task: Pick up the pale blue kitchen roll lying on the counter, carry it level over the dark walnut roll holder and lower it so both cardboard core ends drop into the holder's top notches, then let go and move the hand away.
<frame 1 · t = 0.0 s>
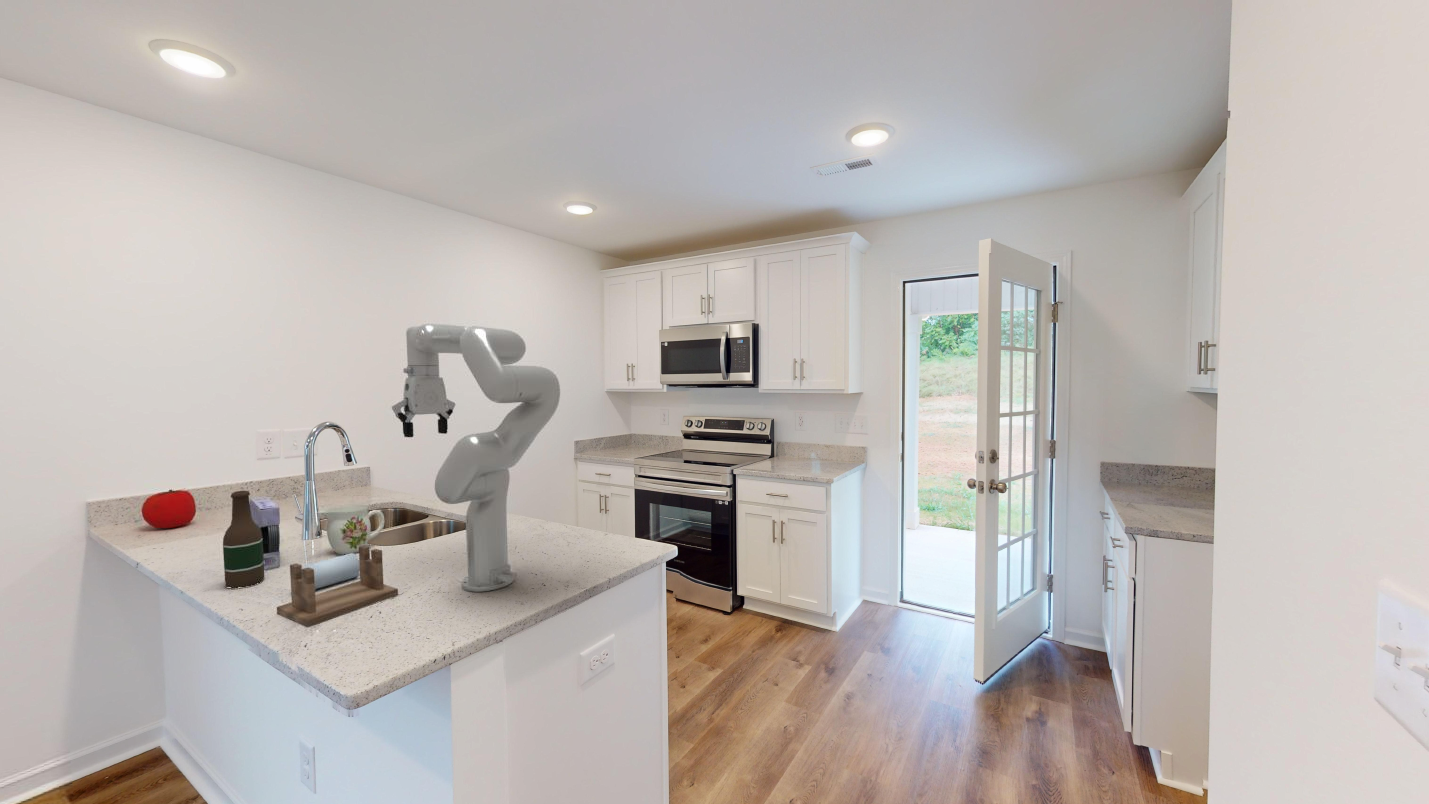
hand: (426, 435, 148), 37 cm above the worktop, tool pointing down, fingers open, 9 cm apart
tomato: (170, 527, 196), on the worktop
cake pan box: (266, 563, 156), on the worktop
pitcher: (353, 550, 166), on the worktop
roll holder: (339, 603, 126), on the worktop
kitchen roll: (328, 584, 138), on the worktop
beer bottle: (245, 584, 139), on the worktop
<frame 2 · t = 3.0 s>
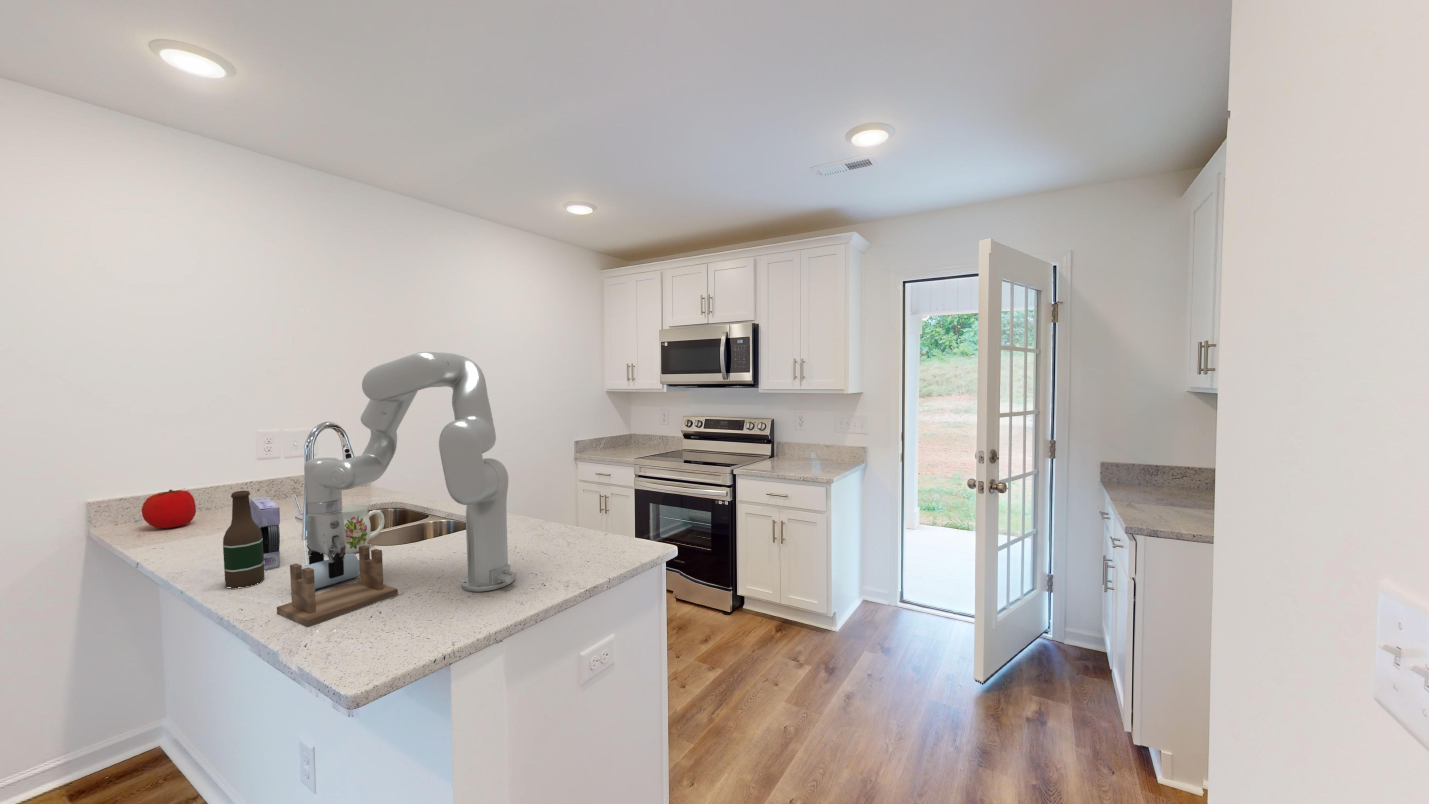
hand: (326, 573, 138), 3 cm above the worktop, tool pointing down, fingers open, 9 cm apart
kitchen roll: (327, 584, 138), on the worktop, tilted 9°
everything else where it was.
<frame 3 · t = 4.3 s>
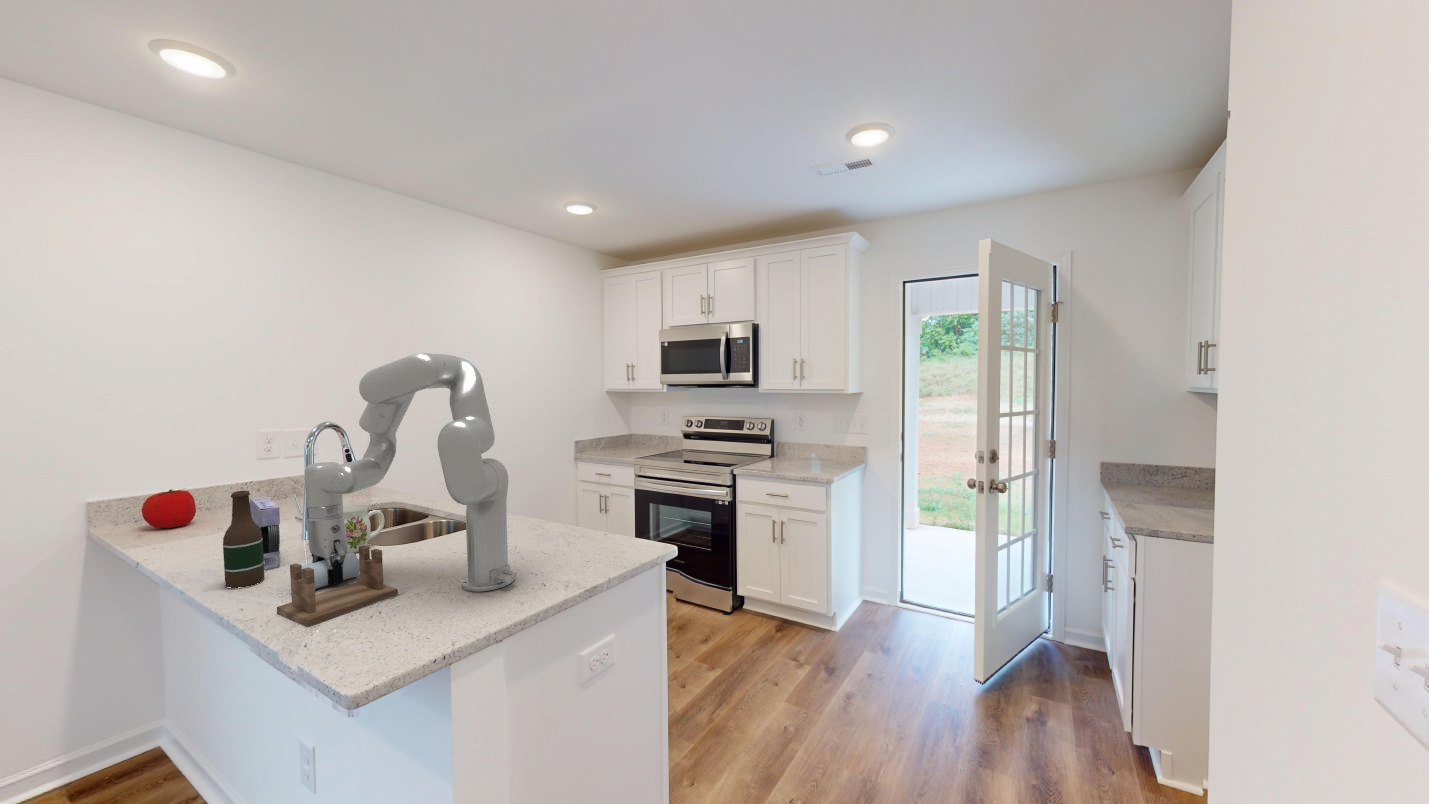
hand: (328, 580, 138), 1 cm above the worktop, tool pointing down, fingers closed on kitchen roll, 6 cm apart
kitchen roll: (327, 584, 138), on the worktop, tilted 7°, touching gripper
everything else where it was.
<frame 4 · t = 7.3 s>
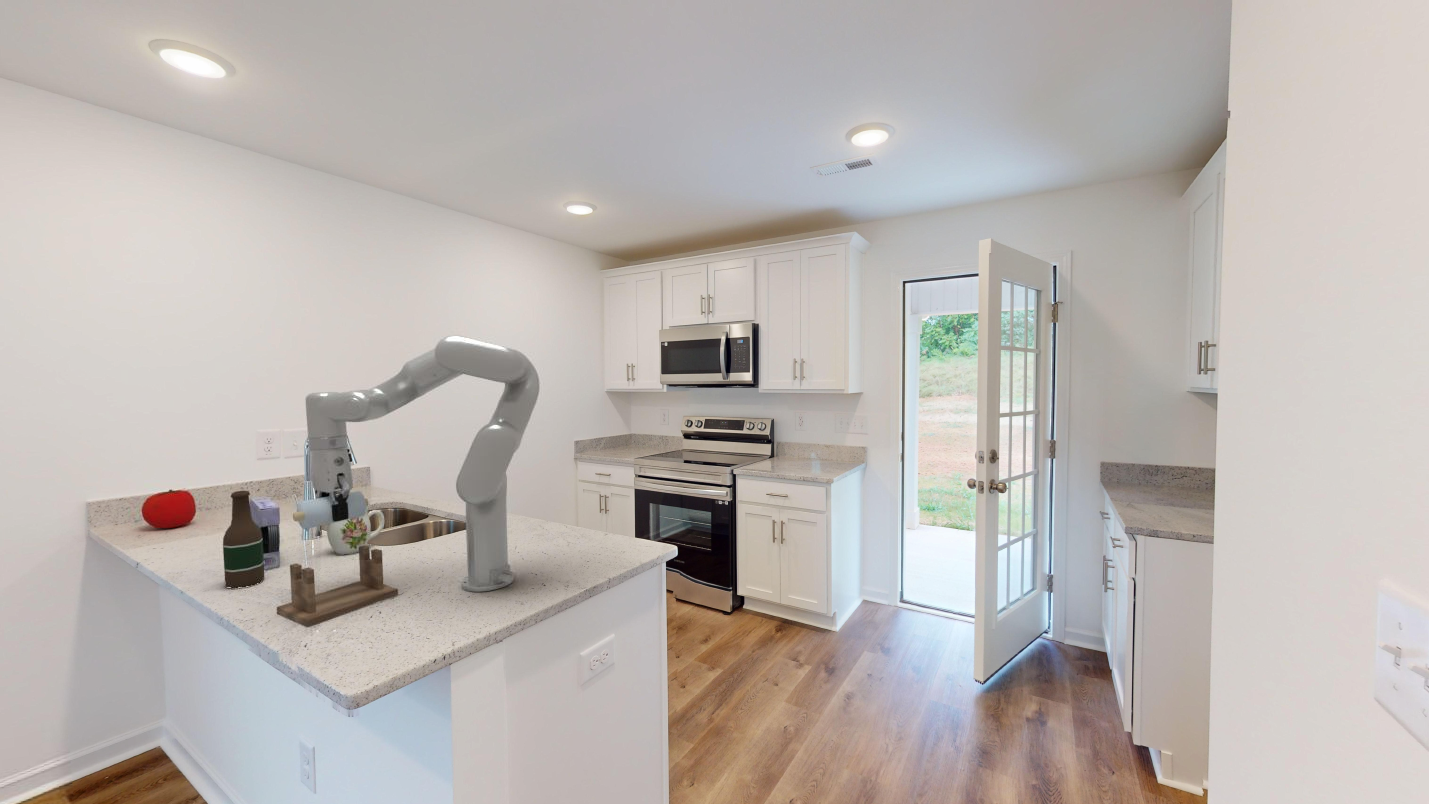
hand: (333, 517, 129), 19 cm above the worktop, tool pointing down, fingers closed on kitchen roll, 6 cm apart
kitchen roll: (332, 522, 130), point 18 cm above the worktop, tilted 6°, touching gripper
everything else where it was.
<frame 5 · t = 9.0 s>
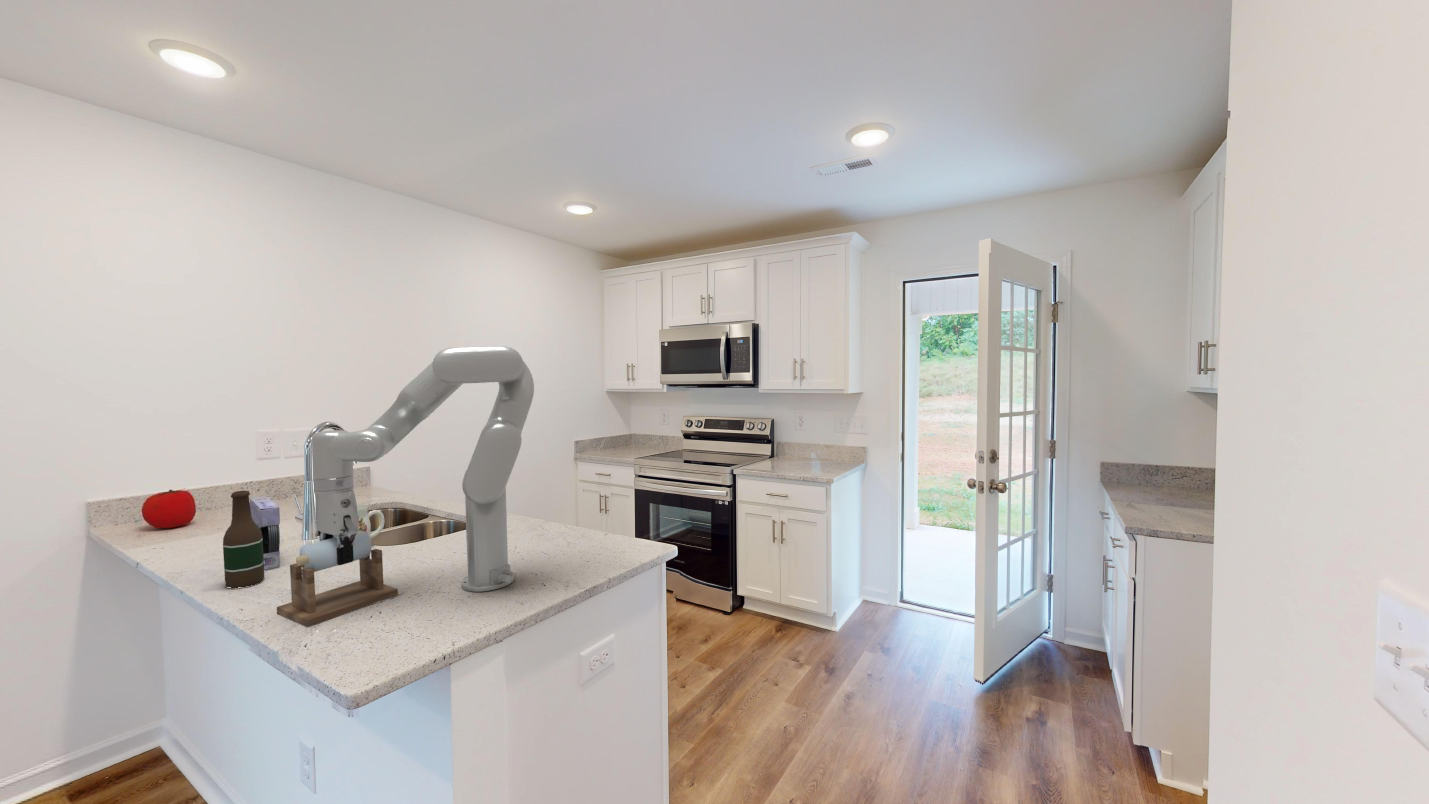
hand: (337, 560, 125), 10 cm above the worktop, tool pointing down, fingers closed on kitchen roll, 6 cm apart
kitchen roll: (336, 564, 126), point 9 cm above the worktop, tilted 7°, touching gripper
everything else where it was.
when the fingers open (8 cm above the worktop, at t = 10.4 s): kitchen roll stays where it is, resting on roll holder.
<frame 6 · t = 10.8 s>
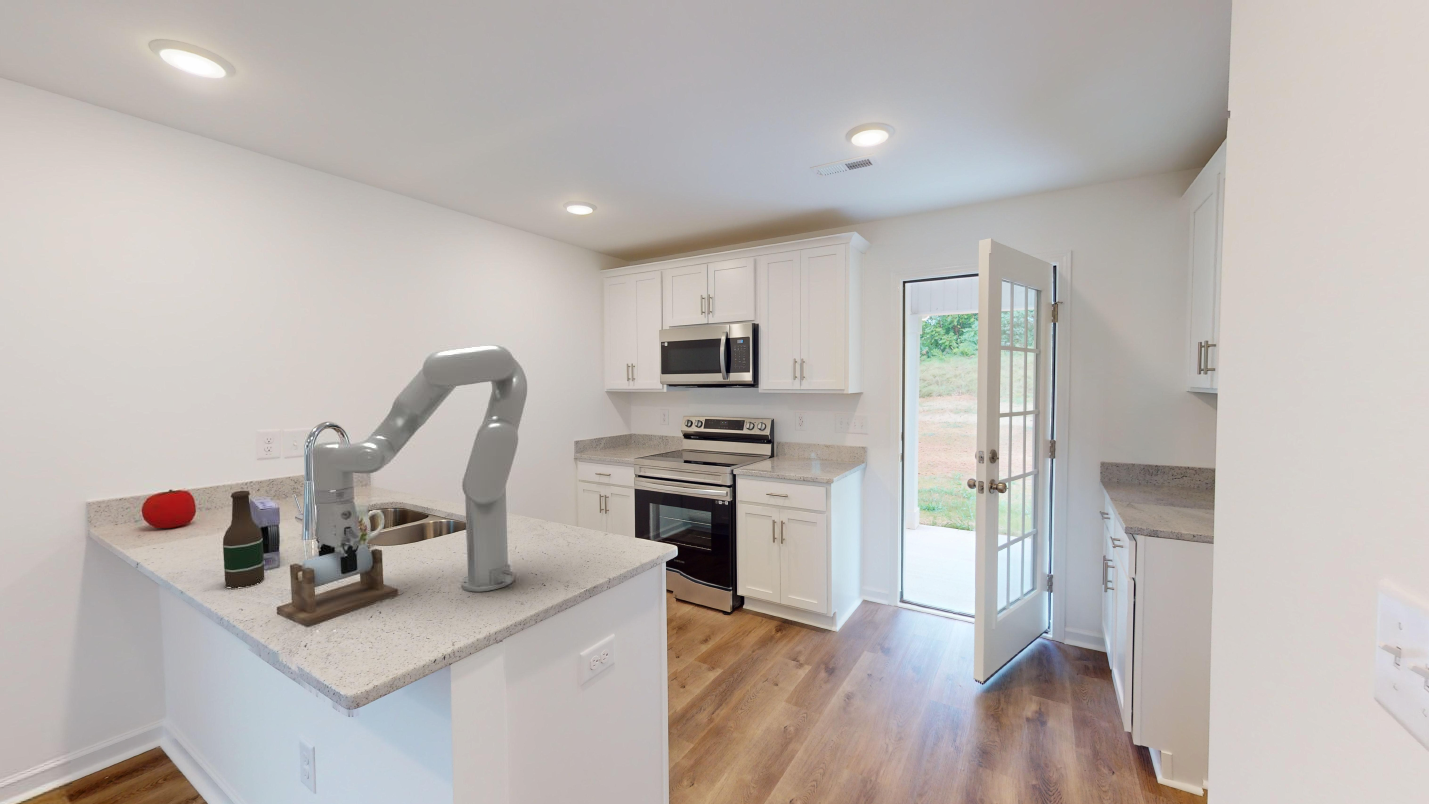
hand: (338, 568, 126), 8 cm above the worktop, tool pointing down, fingers open, 9 cm apart
kitchen roll: (337, 579, 126), point 6 cm above the worktop, tilted 7°, touching roll holder
everything else where it was.
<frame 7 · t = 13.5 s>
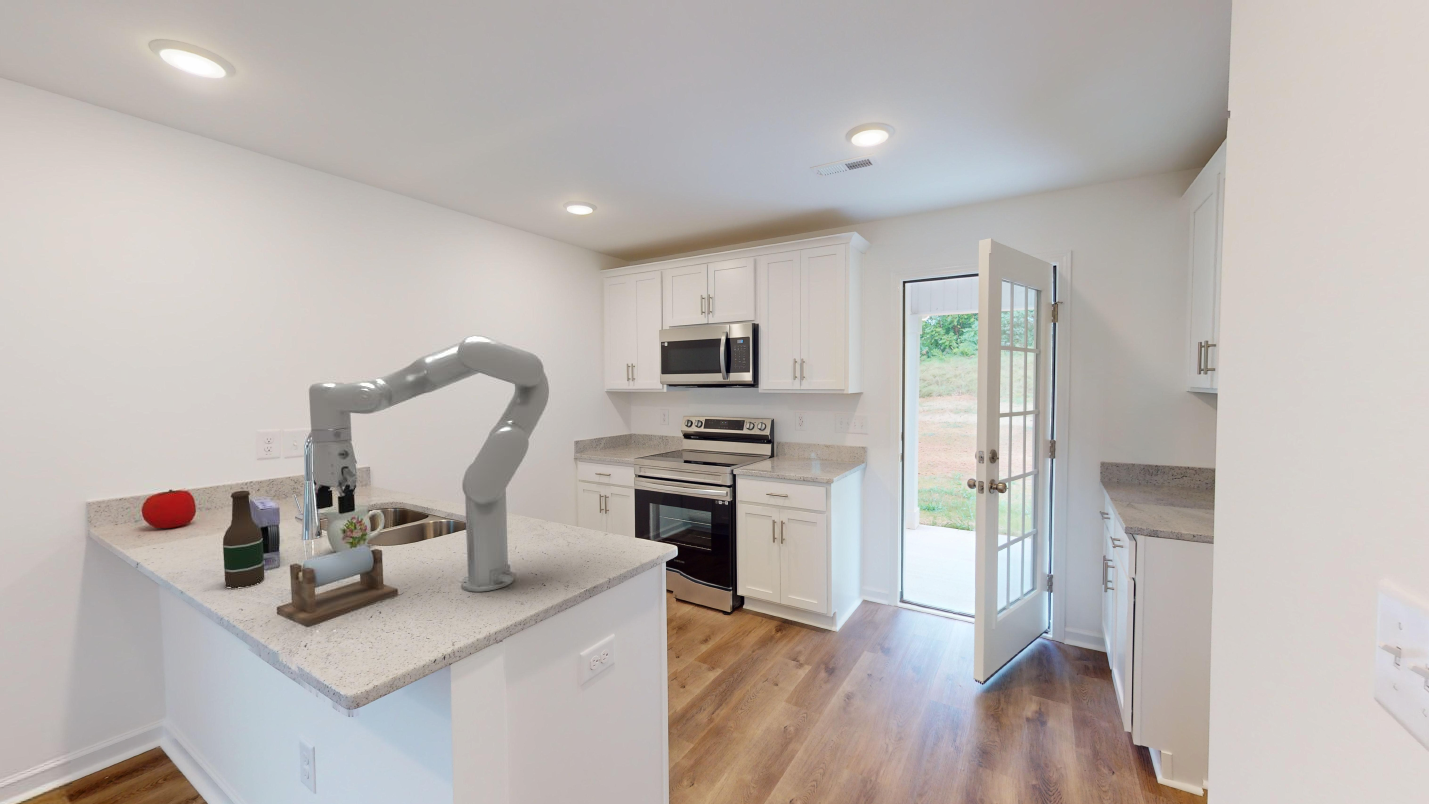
hand: (335, 510, 125), 22 cm above the worktop, tool pointing down, fingers open, 9 cm apart
kitchen roll: (336, 577, 126), point 6 cm above the worktop, tilted 28°, touching roll holder
everything else where it was.
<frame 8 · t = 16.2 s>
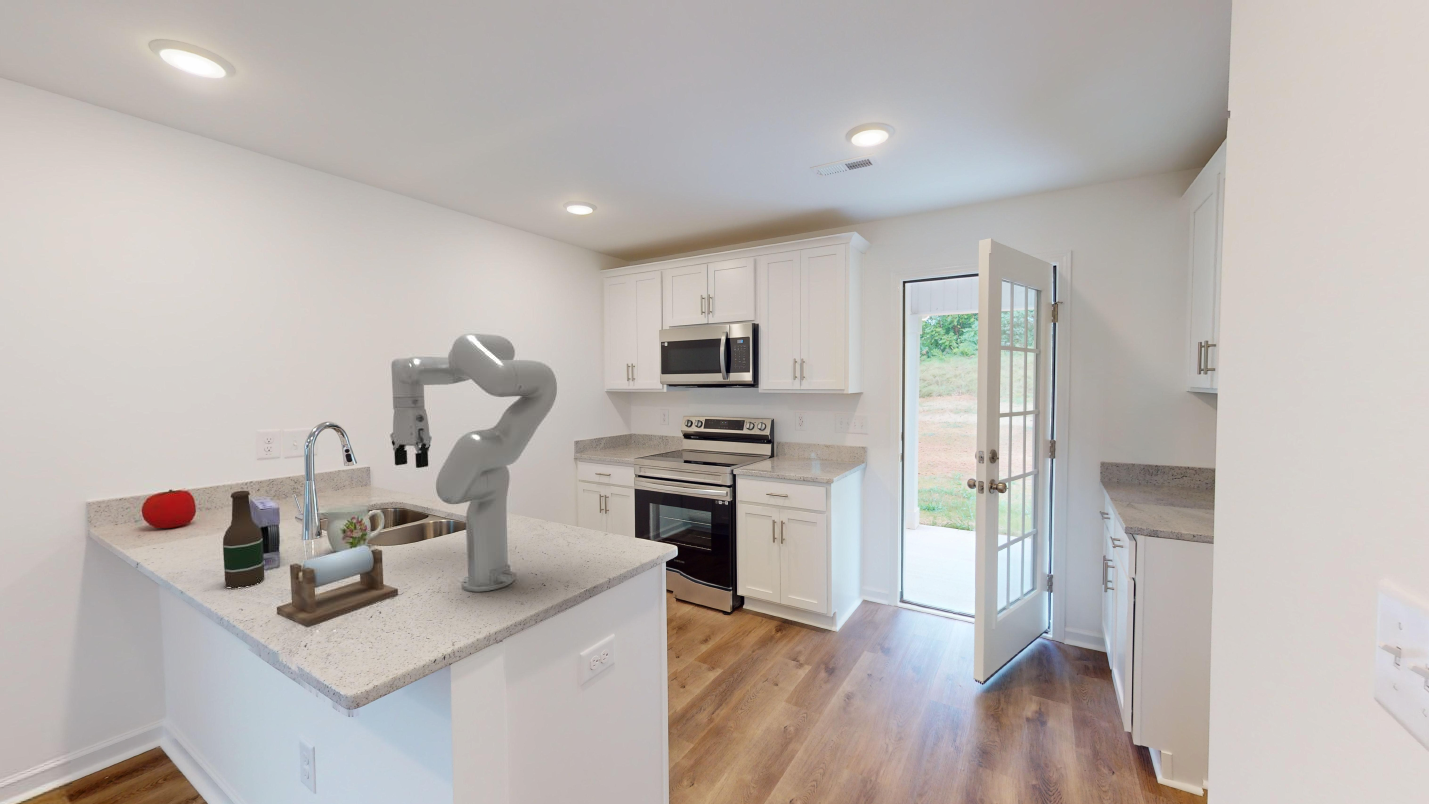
hand: (411, 465, 148), 28 cm above the worktop, tool pointing down, fingers open, 9 cm apart
nothing on the worktop moved.
at the end: kitchen roll 1.1 cm off-centre on the roll holder, point 6.2 cm above the roll holder's base; kitchen roll touching roll holder; the gripper is holding nothing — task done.
